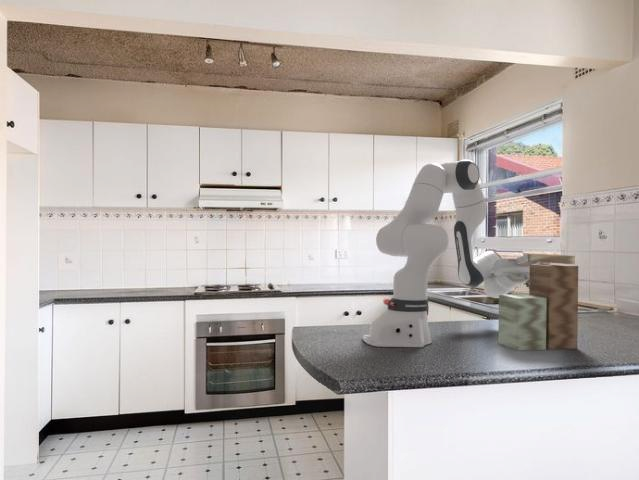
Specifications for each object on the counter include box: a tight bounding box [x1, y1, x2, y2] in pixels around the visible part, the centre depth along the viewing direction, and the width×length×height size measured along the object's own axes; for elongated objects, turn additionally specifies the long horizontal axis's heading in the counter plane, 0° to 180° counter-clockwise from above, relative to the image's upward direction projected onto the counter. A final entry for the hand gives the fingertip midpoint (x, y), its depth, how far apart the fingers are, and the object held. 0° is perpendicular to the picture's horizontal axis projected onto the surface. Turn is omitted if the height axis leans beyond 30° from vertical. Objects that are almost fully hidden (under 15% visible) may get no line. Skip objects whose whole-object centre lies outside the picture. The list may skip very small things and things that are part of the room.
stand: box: [497, 263, 579, 351], centre depth 146 cm, size 21×10×26 cm, turn 100°
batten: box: [522, 252, 576, 265], centre depth 150 cm, size 3×22×3 cm, turn 10°
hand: (533, 256), depth 157 cm, fingers closed on batten, 3 cm apart
